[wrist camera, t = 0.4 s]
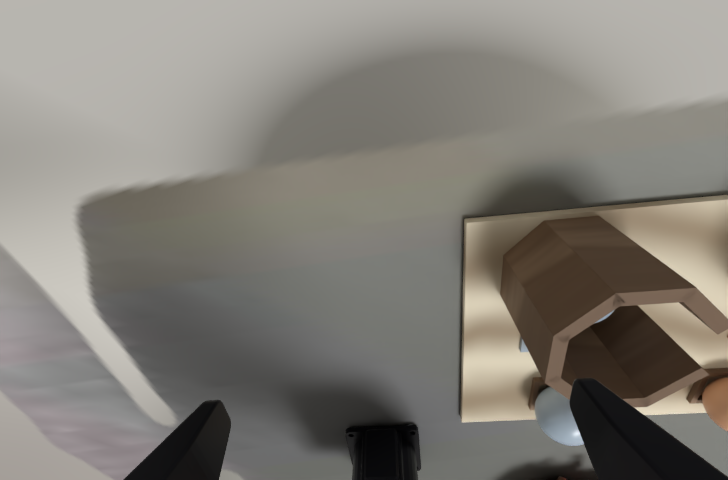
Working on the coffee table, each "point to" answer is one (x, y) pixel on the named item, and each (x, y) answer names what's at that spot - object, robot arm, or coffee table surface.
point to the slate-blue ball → (557, 417)
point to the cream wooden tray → (595, 305)
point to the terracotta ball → (717, 401)
